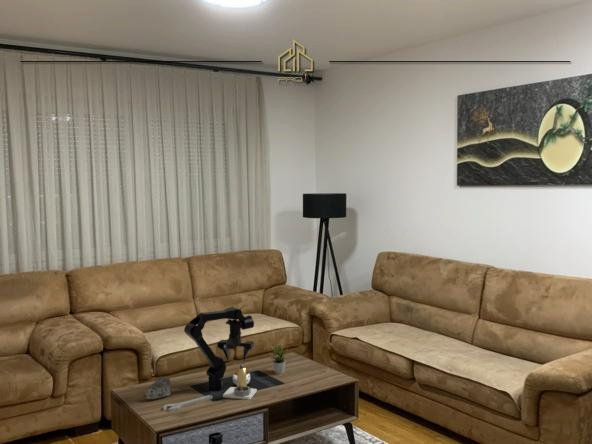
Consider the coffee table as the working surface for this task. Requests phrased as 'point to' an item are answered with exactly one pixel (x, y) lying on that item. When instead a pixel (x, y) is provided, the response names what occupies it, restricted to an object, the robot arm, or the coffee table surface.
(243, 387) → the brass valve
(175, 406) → the adjustable wrench
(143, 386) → the coffee table surface
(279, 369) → the house plant
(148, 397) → the mineral rock
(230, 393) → the pipe plate
